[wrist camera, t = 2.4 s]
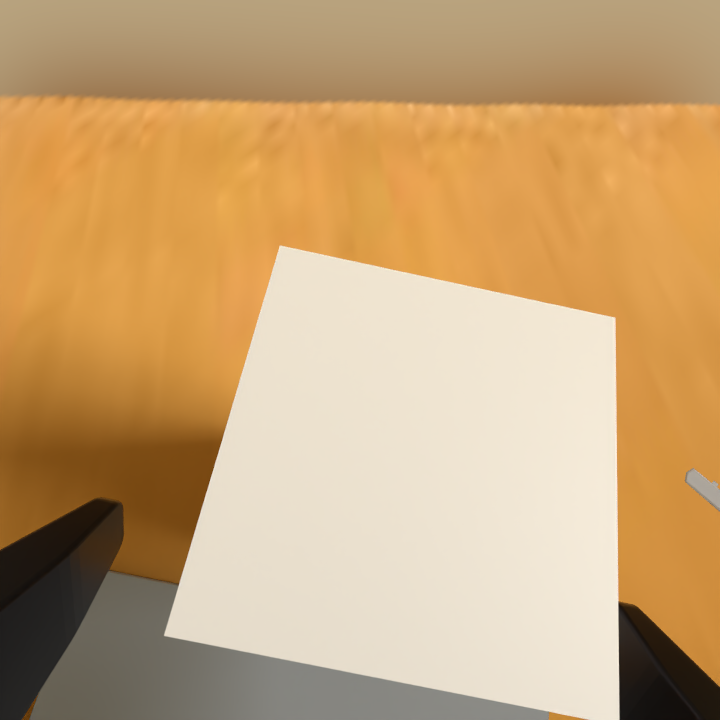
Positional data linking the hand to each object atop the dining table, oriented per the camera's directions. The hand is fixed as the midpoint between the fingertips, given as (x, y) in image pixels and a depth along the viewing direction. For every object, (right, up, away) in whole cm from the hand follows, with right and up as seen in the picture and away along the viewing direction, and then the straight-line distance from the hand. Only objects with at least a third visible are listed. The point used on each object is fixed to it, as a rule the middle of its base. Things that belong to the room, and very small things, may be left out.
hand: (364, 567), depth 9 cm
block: (-1, -2, +9) cm, 9 cm away
